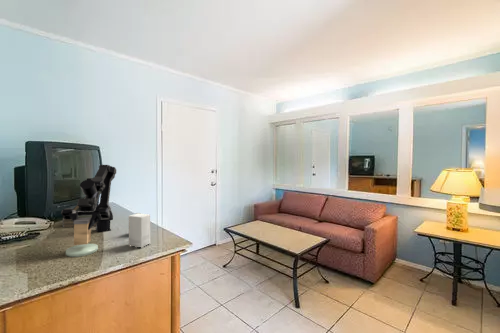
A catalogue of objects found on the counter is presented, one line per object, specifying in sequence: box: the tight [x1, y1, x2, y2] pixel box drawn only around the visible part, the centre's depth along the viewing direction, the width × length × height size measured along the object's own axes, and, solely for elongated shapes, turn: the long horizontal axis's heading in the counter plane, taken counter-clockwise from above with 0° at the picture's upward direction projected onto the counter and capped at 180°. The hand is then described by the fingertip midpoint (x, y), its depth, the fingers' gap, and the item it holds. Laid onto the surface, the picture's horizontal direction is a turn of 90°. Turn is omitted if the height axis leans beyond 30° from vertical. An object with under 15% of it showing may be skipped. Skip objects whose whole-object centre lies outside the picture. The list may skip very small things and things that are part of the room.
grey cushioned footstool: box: [73, 218, 92, 246], centre depth 106 cm, size 5×5×11 cm
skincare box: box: [128, 212, 151, 248], centre depth 116 cm, size 8×7×16 cm
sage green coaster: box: [65, 243, 99, 258], centre depth 107 cm, size 12×12×2 cm
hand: (81, 229), depth 105 cm, fingers closed on grey cushioned footstool, 5 cm apart
